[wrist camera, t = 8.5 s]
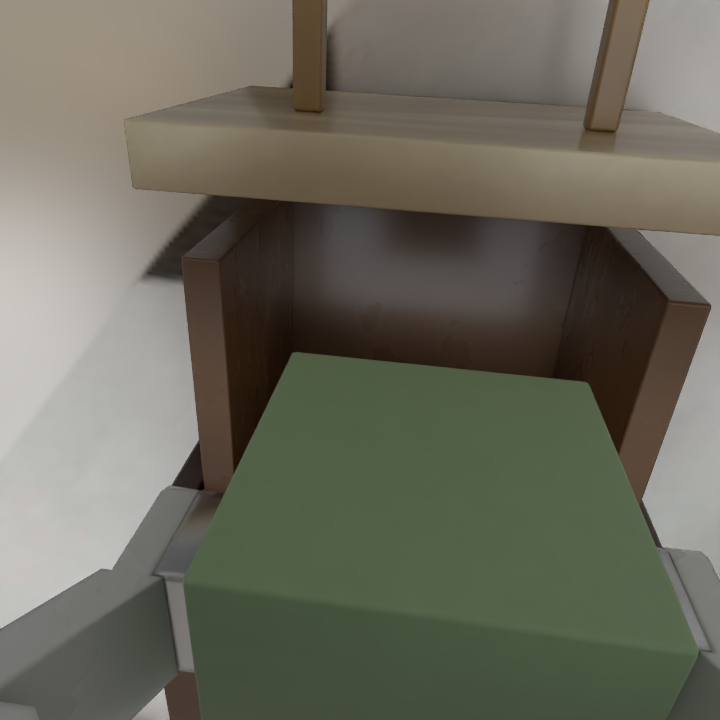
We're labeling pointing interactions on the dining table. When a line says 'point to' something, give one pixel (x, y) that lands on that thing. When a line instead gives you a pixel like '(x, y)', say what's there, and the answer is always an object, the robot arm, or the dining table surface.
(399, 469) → the block
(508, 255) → the drawer
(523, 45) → the dining table surface
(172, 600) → the robot arm
